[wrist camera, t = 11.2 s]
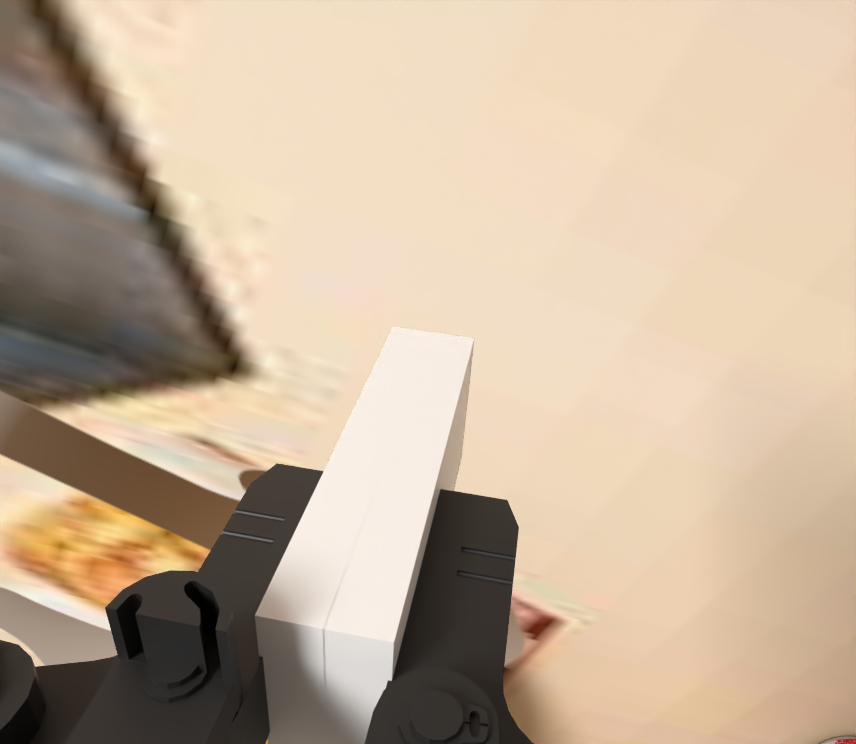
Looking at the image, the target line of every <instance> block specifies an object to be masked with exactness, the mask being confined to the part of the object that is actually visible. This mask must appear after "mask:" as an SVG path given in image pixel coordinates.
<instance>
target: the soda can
mask: <svg viewBox="0 0 856 744" xmlns="http://www.w3.org/2000/svg"><path fill="white" fill-rule="evenodd" d="M820 744H856V736H841V737H835V738H831V739H828V740H826V741H824V742H822V743H820Z"/></svg>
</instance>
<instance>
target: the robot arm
mask: <svg viewBox="0 0 856 744" xmlns="http://www.w3.org/2000/svg"><path fill="white" fill-rule="evenodd" d="M473 346H474V338H469V337H462V336H455V335H448V334H441V333H434V332H427V331H420V330H413V329H406V328H399V327H392V330H391V332H390V334H389V336H388V338H387V340H386V342H385V344H384V346H383V348H382V350H381V353H380V355H379V357H378V359H377V361H376V363H375V365H374V367H373V369H372V371H371V373H370V376H369V378H368V380H367V382H366V384H365V386H364V388H363V390H362V392H361V394H360V396H359V399H358V401H357V403H356V405H355V407H354V409H353V411H352V413H351V415H350V417H349V419H348V422H347V424H346V426H345V428H344V430H343V432H342V434H341V436H340V438H339V440H338V442H337V445H336V447H335V449H334V451H333V453H332V455H331V457H330V459H329V461H328V463H327V465H326V468H325V470H324V471H318V470H312V469H306V468H300V467H295V466H289V465H283V464H276V465H275V466H273V467H272V468H271V469H269V470H268V471H267V472H265V473H264V474H263V475H261V476H260V477H259V478H257V479H256V480H255V481H254V482H252V483H251V484H250V486H249V488H248V489H247V491H246V493H245V494H244V496H243V498H242V499H241V501H240V503H239V504H238V506H237V508H236V512H235V514H232V516H231V518H230V520H229V521H228V523H227V524H226V526H225V528H224V530H223V534H222V535H220V536H219V538H218V539H217V541H216V543H215V545H214V546H213V548H212V549H211V551H210V553H209V554H208V556H207V558H206V559H205V561H204V563H203V564H202V566H201V568H200V569H199V571H198V572H195V571H167V572H163V573H159V574H155V575H151V576H147V577H145V578H143V579H141V580H139V581H138V582H136V583H134V584H132V585H130V586H129V587H127V588H125V589H123V590H122V591H121V592H120V593H119V594H118V595H117V596H116V597H115V598H114V599H113V600H112V601H111V602H110V603H109V604H108V605H107V606H106V607H105V609H106V613H107V617H108V620H109V624H110V628H111V631H112V635H113V639H114V643H115V646H116V650H117V654H118V655H117V656H114V657H111V658H105V659H100V660H95V661H88V662H78V663H68V664H59V665H49V666H39V667H35V666H34V663H33V660H32V658H31V656H30V655H28V654H27V653H26V652H25V651H24V650H23V649H22V648H21V647H20V646H19V645H17V644H13V643H10V642H6V641H2V640H0V744H265V743H266V741H267V738H268V744H533V743H532V742H531V741H530V740H529V739H528V738H527V736H526V735H525V734H524V733H523V732H522V731H521V730H520V729H519V728H518V726H517V725H516V723H515V721H514V719H513V718H512V716H511V714H510V712H509V711H508V707H507V704H506V701H505V697H504V694H503V671H504V662H505V652H506V643H507V633H508V624H509V615H510V605H511V596H512V584H513V577H514V567H515V557H516V548H517V539H518V529H519V527H518V524H517V522H516V520H515V517H514V515H513V513H512V510H511V508H510V506H509V503H508V501H507V500H503V499H497V498H491V497H485V496H479V495H473V494H467V493H461V492H455V491H454V487H455V483H456V479H457V474H458V470H459V466H460V461H461V457H462V447H463V438H464V429H465V420H466V411H467V401H468V392H469V383H470V374H471V364H472V355H473Z"/></svg>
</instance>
